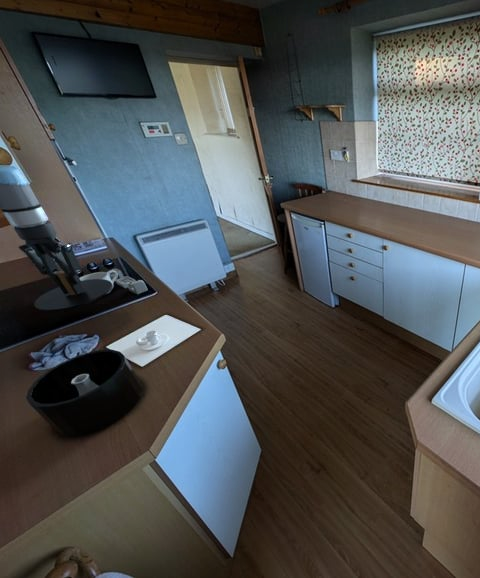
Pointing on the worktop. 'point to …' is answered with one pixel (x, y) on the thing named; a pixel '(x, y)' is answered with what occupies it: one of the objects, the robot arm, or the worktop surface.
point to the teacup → (100, 276)
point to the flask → (83, 384)
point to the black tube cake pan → (93, 405)
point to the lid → (72, 294)
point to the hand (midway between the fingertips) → (74, 291)
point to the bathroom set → (129, 282)
